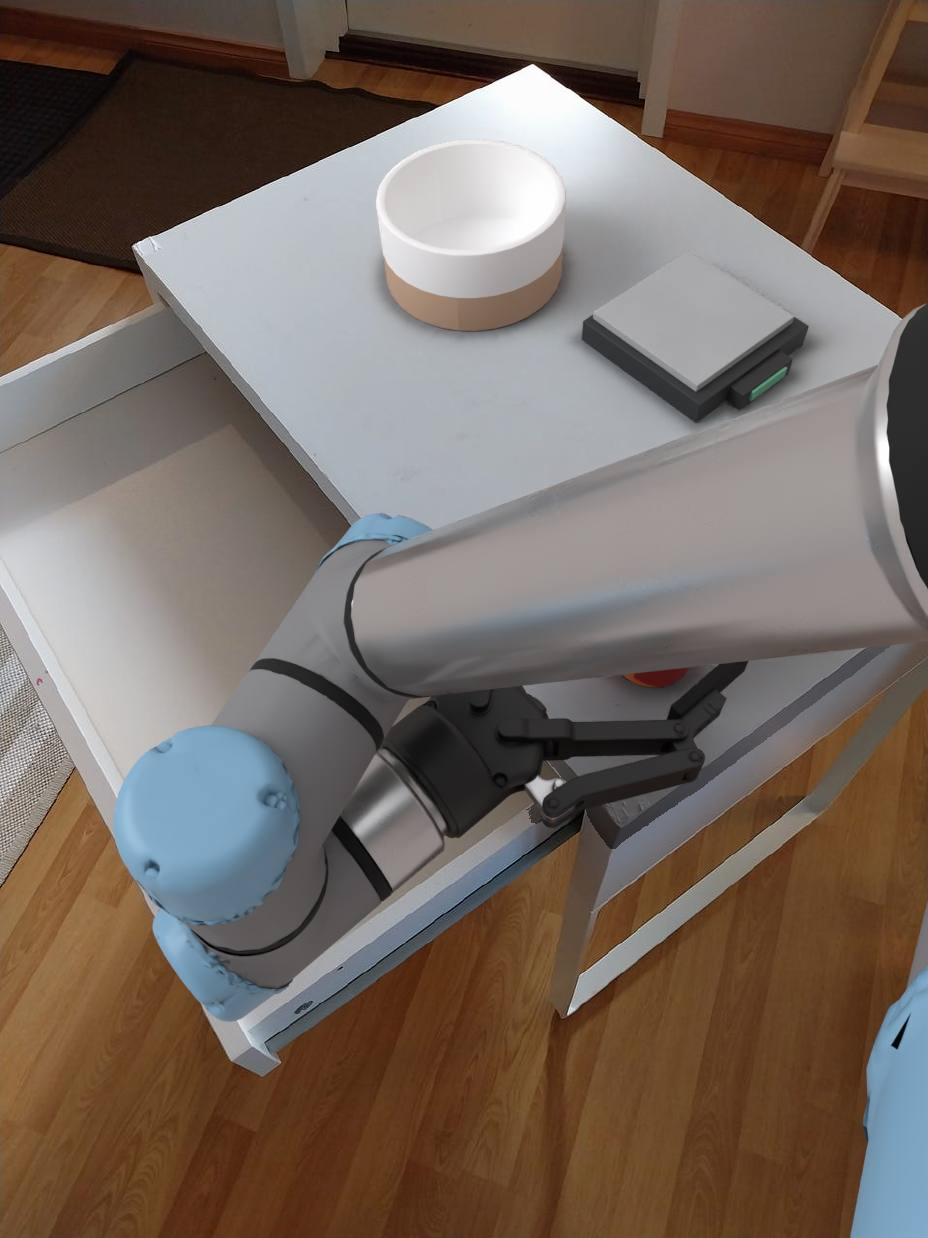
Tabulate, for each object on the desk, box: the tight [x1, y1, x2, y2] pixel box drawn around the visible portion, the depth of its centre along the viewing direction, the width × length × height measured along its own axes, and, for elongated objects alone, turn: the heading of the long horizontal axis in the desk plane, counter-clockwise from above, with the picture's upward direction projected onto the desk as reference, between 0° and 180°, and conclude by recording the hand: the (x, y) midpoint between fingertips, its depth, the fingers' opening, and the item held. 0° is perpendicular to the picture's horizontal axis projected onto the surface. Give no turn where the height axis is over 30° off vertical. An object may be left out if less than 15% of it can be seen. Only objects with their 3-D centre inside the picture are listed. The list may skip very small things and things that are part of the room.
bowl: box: [375, 138, 567, 332], centre depth 88 cm, size 17×17×8 cm
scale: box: [581, 250, 810, 424], centre depth 83 cm, size 16×14×3 cm
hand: (664, 588), depth 61 cm, fingers open, 13 cm apart
